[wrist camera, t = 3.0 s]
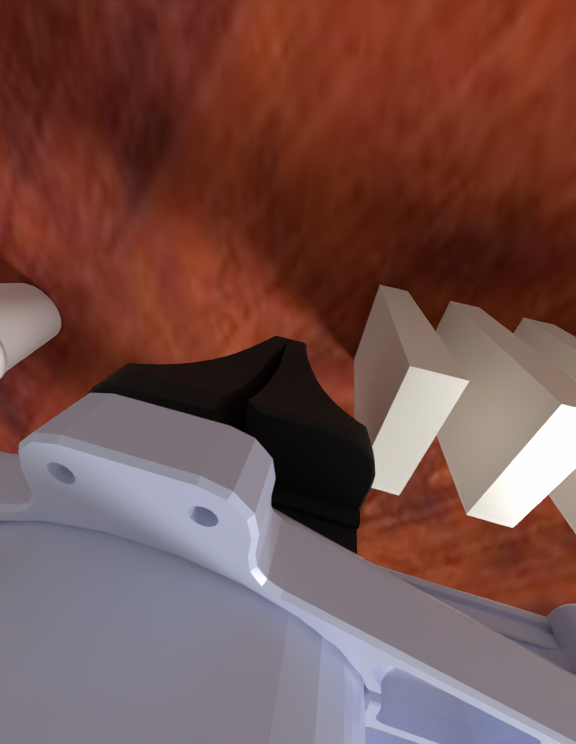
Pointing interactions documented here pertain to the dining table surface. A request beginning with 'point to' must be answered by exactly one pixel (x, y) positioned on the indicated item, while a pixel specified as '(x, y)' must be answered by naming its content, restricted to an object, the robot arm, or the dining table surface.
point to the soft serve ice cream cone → (24, 322)
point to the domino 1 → (402, 386)
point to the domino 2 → (505, 419)
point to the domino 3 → (571, 358)
